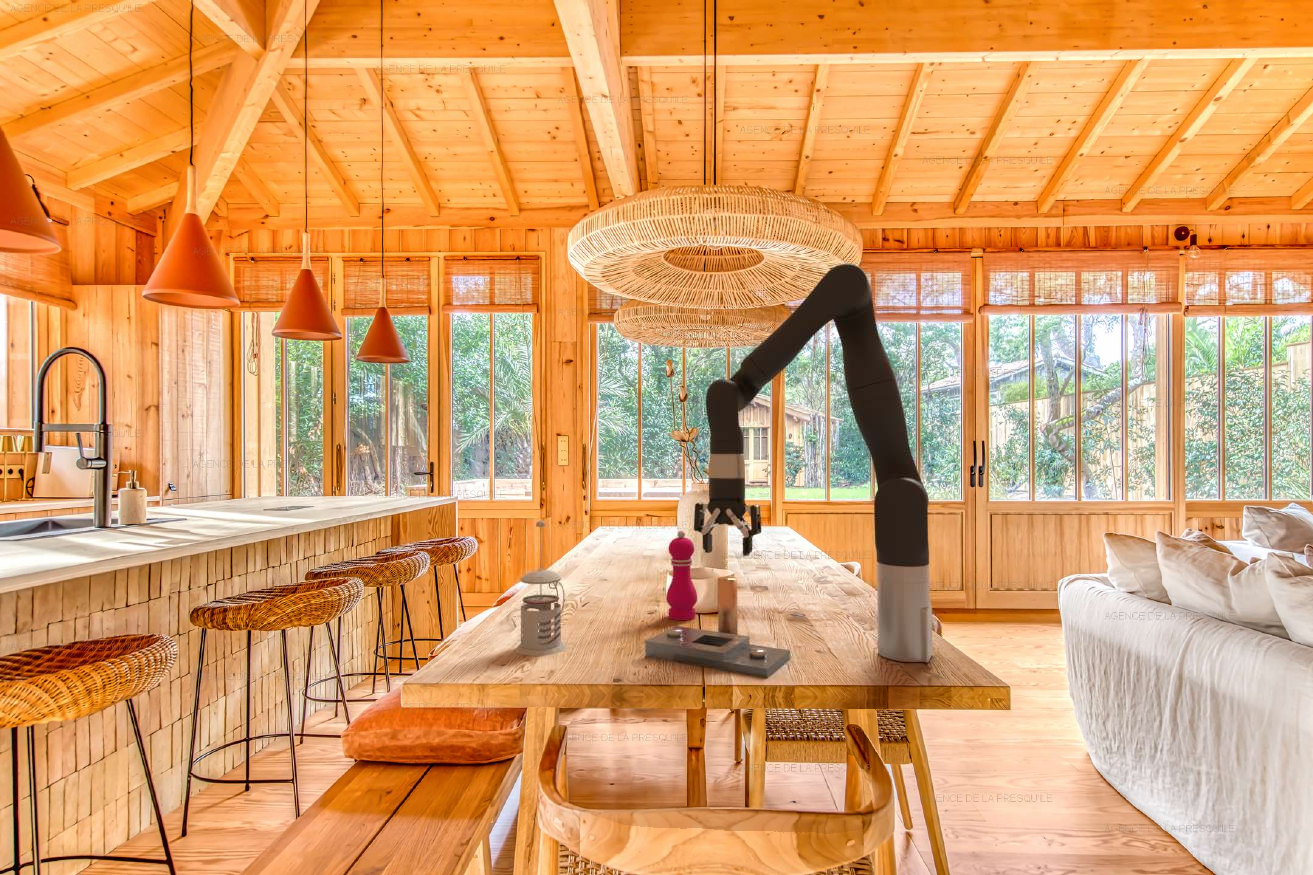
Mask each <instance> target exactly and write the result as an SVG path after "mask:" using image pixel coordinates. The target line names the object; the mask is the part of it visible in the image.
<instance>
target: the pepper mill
mask: <svg viewBox="0 0 1313 875" xmlns="http://www.w3.org/2000/svg"><path fill="white" fill-rule="evenodd" d="M677 536H678V537H675V538H673V539H672V540H671V541H670V542H669V545H668V553H669V554H670V556H671V557H672V558H670V561H671V562H670V565H671V566H672V579H671V581H670V584H669V586H668V589H667V592H666V597H665V598H666V602H667V604H668V605H669V606H670V608H668V617H669V619H671V620H673V621H674V620H675V621H690V620H693V619H695V618H696V609H695V608H694V606H695V605H696V603H697V602H698V593H697V590H696V587H695V585H694V582H693V580H692V577H691V566H692V565H693V558H692V556H693V554H694V552H695V544H694V543H693V541H692V540H691V539H689V538H687V537H686V532H685V531H683V530H679V531H678V532H677Z"/></svg>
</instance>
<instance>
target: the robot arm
mask: <svg viewBox="0 0 1313 875" xmlns="http://www.w3.org/2000/svg"><path fill="white" fill-rule="evenodd" d="M874 309H875V308H874V301H873V291H872V286H871V282H870V280H869V277H868V276H867V274H866V272H865V271H864V270H863V269H862V268H861V267H860V266H858V265H857V264H854V263H845V262H844V263H840V264H836V265H835V266H833V267H831V268H830V269H829V270H828V271H827V272H826V273H825V274H824V276H822V277H821V279H820V280H819V281H818V282H817V284H816V285H815V286H814V288H812V290H811V292H810V293H809V294H808V295H807V296H806V298H805V299H804V300H803V301H802V302H801V303H800V304H799V305H798V307H796V309H795V310H794V311H793V312H792V313H791V315H789V316H788V318H786V319H785V320H784V322H782V323H781V325H780V326H778V327H777V328H776V329H775V330H774V331H773V332H772V333H771V334H770V335H769V336H768V337H767V338H765V340H763V341H762V342H761V343H760V344H759V345H758V346H757V347H755V348H754V349H753V350H752V351H751V352H750V353H749V354H748V355H747V356H745V358H743V360H742V361H741V363H740V367H739V369H738V370H737V371H736V372H735V373H734V374H733V375H731V377H730V378H728V379H727V378H720V379H716V380H714V381H712V382H711V384H710V385H709V386H708V388H707V391H706V395H705V410H706V416H707V422H708V424H707V425H708V427H709V433H710V436H709V438H710V439H709V462H708V473H707V474H708V503H705V502H703V501H702V502H700V501H699V502H697V503H695V504H694V516H693V517H694V519H693V530H694V531H695V532H698V533H701V535H702V550H704V553H707V554H709V553H712V552H713V533H712V531H713V530H714V529H715V528H716V527H717V526H718V525H720V526H721V525H722V526H723V525H727V526H735V527H736V528H737V530H739V531H740V533H741V534H742V536H743V537H742V556H745V557H748V556H749V555H750V554H751V553H753V537H754V536H756V535H759V534H762V519H761V506H760V505H759V504H753V505H747V503H746V463H745V455H744V454H745V446H744V445H745V444H744V443H745V440H744V431H743V429H742V427H741V426H740V416H739V413H740V412H741V411H742V410H744V409H745V408H747V406H749V404H750V403H751V402H752V401H753V400H754V399H755V398H756V396H757V395H758V394H759V393H760V392H761V391H762V389H763V388H764V387H765V386H766V385H767V384H768V383H770V382H771V381H772V380H773V379H774V378H776V377H777V376H778V375H779V374H780V373H781V372H782V371H784V369H786V368H787V367H788V366H789V365H790V364H791V363H792V362H793V361H794V360H795V358H796V357H797V356H798V355H799V354H800V352H801V351H802V350H803V349H804V348H805V346H806V344H807V343H808V342H809V341H810V340H811V339H812V338H813V337H814V336H815V335H816V334H817V333H818V332H819V331H820V330H821V329H822V328H823V327H824V326H826V325H827V324H828V323H829V322H831V321H832V320H833V322H834V325H835V328H836V332H837V334H838V336H839V340H840V343H841V348H842V361H843V371H844V382H845V387H846V392H847V395H848V400H849V403H850V407H851V411H852V413H853V417H854V419H855V421H856V424H857V428H858V429H859V432H860V434H861V437H862V438H863V440H864V442H865V445H866V447H867V449H868V452H869V453H870V456H871V460H872V464H873V468H874V474H875V479H876V487H877V491H876V492H875V496H874V501H873V502H874V504H873V512H874V514H873V516H874V518H873V519H874V520H873V522H874V544H875V552H876V584H877V586H876V588H877V589H876V590H877V594H876V597H877V605H876V606H877V607H876V609H877V653H878V654H879V656H881V657H883V658H885V659H887V660H892V661H898V662H907V663H920V662H921V663H929V662H930V660H931V658H932V657H933V605H932V603H931V601H930V599H931V598H930V597H931V596H930V593H931V592H930V587H931V586H930V549H929V548H930V545H929V511H928V510H929V502H930V500H929V494H928V492H927V490H926V488H925V485H924V483H923V481H922V478H921V476H920V474H919V471H918V469H917V465H916V463H915V460H914V458H913V454H912V452H911V447H910V443H909V436H908V434H909V433H908V428H907V427H908V426H907V423H906V416H905V415H906V414H905V412H904V407H903V402H902V396H901V393H900V390H899V386H898V382H897V379H896V376H895V373H894V372H895V371H894V369H893V367H892V363H891V362H890V357H889V355H888V353H887V351H886V349H885V347H884V345H883V342H882V340H881V337H880V333H879V330H878V326H877V321H876V317H875V316H876V315H875V310H874ZM707 512H708V513H709V514H710V516H709V518H708V520H707V521H706V523H705V514H706V513H707ZM746 513H747V515H748V516H750V526H751V527H750V526H749V523H748V521H747V519H745V517H744V515H745V514H746Z"/></svg>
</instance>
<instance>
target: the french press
mask: <svg viewBox="0 0 1313 875" xmlns="http://www.w3.org/2000/svg"><path fill="white" fill-rule="evenodd" d="M535 527H538V528H539V535H540V536H539V542H540V543H539V544H540V545H539V546H540V547H539V552H540V553H539V558H540V560H539V562H540V563H539V565H540V567H539V569H537V570H531V571H528V572H526V573H525V574H524V575H523V576H521V577H520V578H519V580H520V582H521V583H523V584H527V585H540V588H539V589H540V590H539V591H540V592H539V594H533V595H532V594H531V595H527V596H525V597H523V598H522V602H523V603H524V604H523V605H521V606H520V627H521V628H520V640H521V641H520V643H519V644H518V645H517V647H516V648H515V652H517V653H518V654H521V655H525V656H533V657H534V656H535V657H537V656H549V655H554V654H558V653H560V652H562V651H564V650H565V649H566V646H567V645H566V644H565V643H564V642H563V641H562V635H561V634H562V629H561V626H562V625H561V622H562V621H561V620H562V618H561V617H562V616H561V615H562V612H563V611H564V606H565V590H564V586H563V585H562V583H561V582H560V581H561V580H562V576H561V575H560V574H558V573H557V572H556V571H552V570H550V569H543V568H542V528H543V527H546V521H544V520H538V521H536V523H535ZM547 584H548V588H549V589H551V590H555V591H556V594H555V595H554V594H547V593H546V594H542V585H547ZM551 584H553V585H554V587H551ZM557 584H559V585H560V587H561V589H562V595H563V599H562V600H563V601H562V606H561V604H560V603H559V600H560V597H559V591H558V587H557V586H558V585H557ZM552 604H553V609H552ZM529 609H535V610H529ZM552 620H553V621H552ZM552 627H553V628H552ZM552 634H553V635H552Z"/></svg>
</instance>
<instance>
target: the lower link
mask: <svg viewBox="0 0 1313 875" xmlns="http://www.w3.org/2000/svg"><path fill="white" fill-rule="evenodd" d="M703 645H710V646H716V647H721V646H723V645H718V644H711V643H703ZM790 659H791V650H790V649H786V648H784V649H783V648H776V647H769V646H763V645H756V644H749V645H748V646H746V647H745V648H743V649H742V650H740V651H739V652H738V653H736V654H735V655H733V656H732V657H730V658H729V659H727V660H726V661H724V662H722V661H716V660H710V659H704V658H698V657H692V656H686V655H680V654H674V662H673V663H679V664H685V665H691V666H696V667H703V668H708V669H714V670H720V671H726V672H731V673H737V674H743V675H750V676H755V677H760V678H764V679H768V678H769V677H770V676H771V675H772V674H774V673H775V672H776V671H778V670H779V669H780V668H781V667H782V666H783V665H785V663H787V662H788V661H789V660H790ZM779 667H780V668H779Z"/></svg>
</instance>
